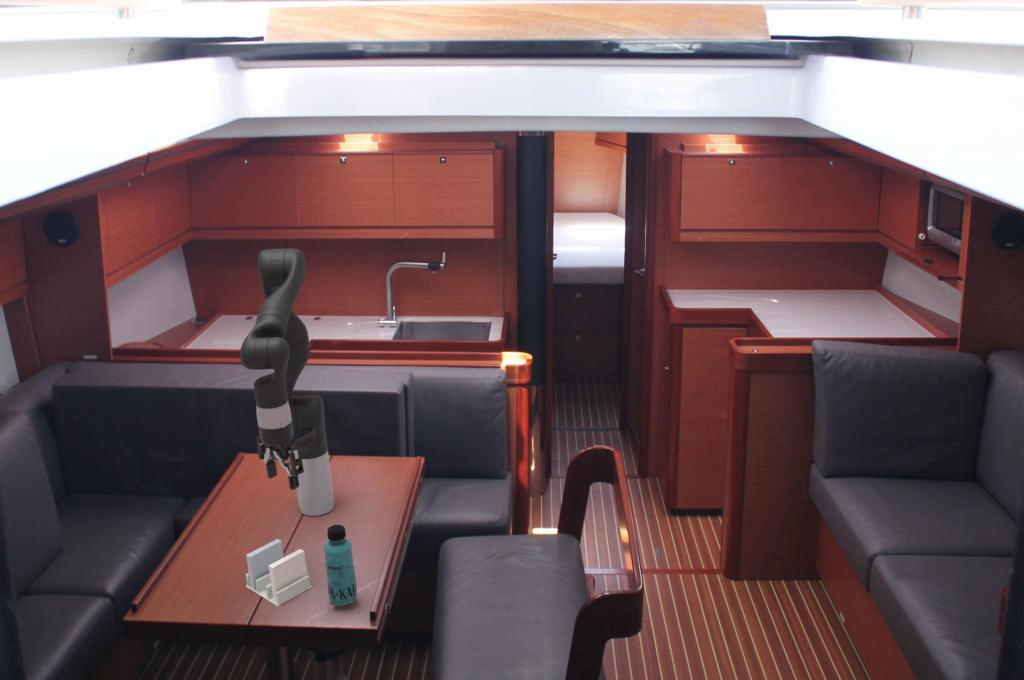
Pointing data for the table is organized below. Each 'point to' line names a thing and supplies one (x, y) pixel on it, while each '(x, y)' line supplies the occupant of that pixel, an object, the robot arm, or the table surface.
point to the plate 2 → (287, 571)
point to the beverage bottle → (340, 567)
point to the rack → (282, 595)
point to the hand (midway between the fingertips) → (283, 482)
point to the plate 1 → (263, 560)
